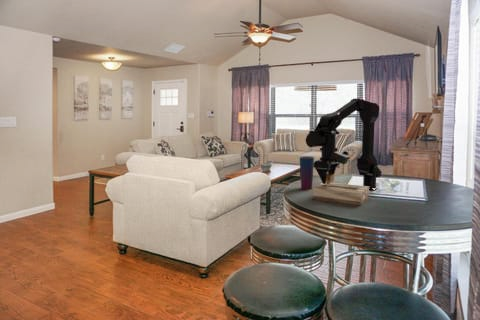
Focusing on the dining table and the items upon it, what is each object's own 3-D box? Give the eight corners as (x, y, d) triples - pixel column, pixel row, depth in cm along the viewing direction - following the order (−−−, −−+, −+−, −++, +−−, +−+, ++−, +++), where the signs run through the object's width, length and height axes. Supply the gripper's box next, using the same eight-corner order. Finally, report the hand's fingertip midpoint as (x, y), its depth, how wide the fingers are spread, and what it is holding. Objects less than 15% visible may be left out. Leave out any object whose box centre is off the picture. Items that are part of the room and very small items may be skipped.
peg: (325, 192, 158) (325, 173, 157) (333, 193, 156) (334, 173, 155) (321, 194, 155) (322, 174, 154) (330, 195, 153) (331, 175, 151)
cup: (313, 190, 168) (314, 158, 166) (299, 189, 170) (299, 158, 168) (313, 187, 175) (314, 156, 173) (299, 186, 176) (299, 156, 174)
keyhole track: (323, 192, 163) (323, 181, 163) (369, 198, 153) (369, 186, 152) (312, 199, 153) (312, 187, 152) (361, 205, 142) (361, 193, 141)
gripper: (340, 148, 140) (339, 188, 143) (353, 144, 156) (353, 179, 158) (313, 147, 146) (312, 185, 149) (328, 143, 162) (328, 177, 164)
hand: (327, 181), depth 155 cm, fingers open, 9 cm apart
